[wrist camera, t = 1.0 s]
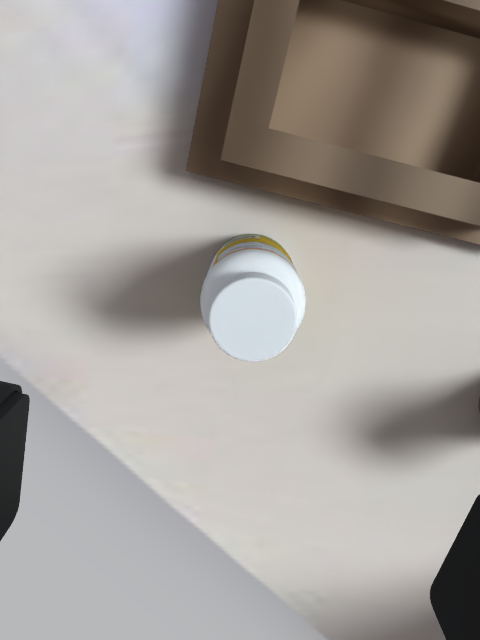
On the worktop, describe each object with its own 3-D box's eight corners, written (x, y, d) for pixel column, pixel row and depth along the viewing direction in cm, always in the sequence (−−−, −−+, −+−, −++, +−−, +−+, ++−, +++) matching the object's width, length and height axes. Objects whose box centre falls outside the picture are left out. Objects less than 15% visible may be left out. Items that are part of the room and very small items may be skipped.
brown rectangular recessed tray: (598, 15, 24) (674, -20, 20) (498, 248, 28) (543, 262, 24) (239, -88, 23) (236, -148, 19) (189, 170, 27) (178, 170, 23)
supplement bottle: (264, 327, 30) (271, 396, 21) (195, 287, 29) (170, 340, 20) (309, 260, 28) (338, 302, 19) (237, 216, 28) (232, 237, 18)
